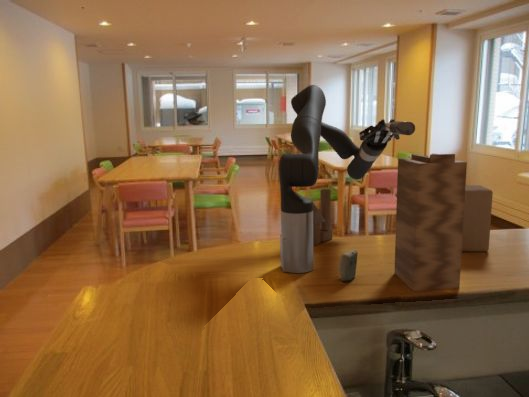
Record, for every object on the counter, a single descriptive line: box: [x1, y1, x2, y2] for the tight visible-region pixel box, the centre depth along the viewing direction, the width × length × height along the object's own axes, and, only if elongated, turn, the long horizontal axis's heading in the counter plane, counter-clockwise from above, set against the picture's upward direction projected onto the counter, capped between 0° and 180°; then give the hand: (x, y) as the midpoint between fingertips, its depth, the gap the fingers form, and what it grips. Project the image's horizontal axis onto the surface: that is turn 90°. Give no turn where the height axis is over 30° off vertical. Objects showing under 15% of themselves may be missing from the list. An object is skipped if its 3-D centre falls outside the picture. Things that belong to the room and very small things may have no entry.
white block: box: [337, 248, 359, 284], centre depth 122 cm, size 6×5×8 cm
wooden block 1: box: [313, 188, 333, 246], centre depth 158 cm, size 4×11×18 cm, turn 137°
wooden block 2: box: [462, 185, 493, 253], centre depth 146 cm, size 10×10×20 cm
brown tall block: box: [394, 153, 468, 292], centre depth 117 cm, size 12×13×34 cm
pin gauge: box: [382, 120, 416, 136], centre depth 133 cm, size 4×21×4 cm, turn 5°
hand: (388, 121), depth 138 cm, fingers closed on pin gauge, 2 cm apart
